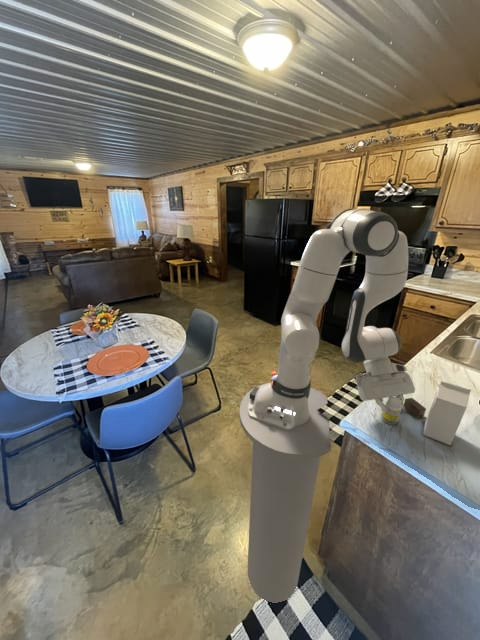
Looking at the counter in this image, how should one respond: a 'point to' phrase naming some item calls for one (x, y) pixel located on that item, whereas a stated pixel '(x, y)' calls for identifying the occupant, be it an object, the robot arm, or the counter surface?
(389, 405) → the supplement bottle
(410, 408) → the brown wooden block
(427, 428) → the milk carton
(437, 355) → the counter surface
